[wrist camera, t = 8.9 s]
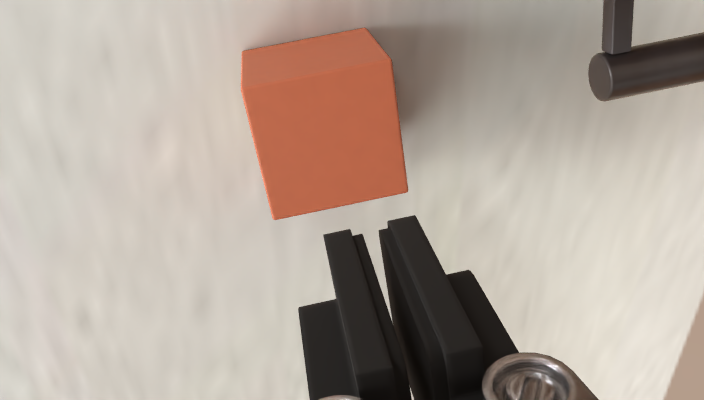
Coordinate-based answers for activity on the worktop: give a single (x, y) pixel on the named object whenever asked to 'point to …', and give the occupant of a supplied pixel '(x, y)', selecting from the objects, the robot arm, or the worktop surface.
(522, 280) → the worktop surface
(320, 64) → the block
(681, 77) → the drawer
